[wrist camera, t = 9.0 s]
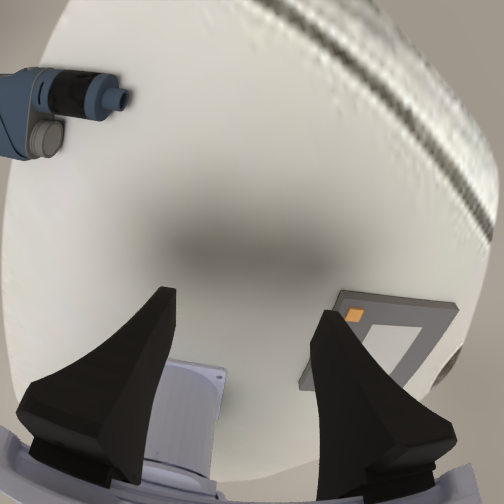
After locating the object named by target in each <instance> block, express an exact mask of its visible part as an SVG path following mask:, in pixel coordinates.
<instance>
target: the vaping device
mask: <svg viewBox="0 0 504 504" xmlns="http://www.w3.org/2000/svg"><path fill="white" fill-rule="evenodd" d="M128 97H129V93H128V91H127V90H124V89H118V81H117V78H116V76H115V75H113V74H105V73H96V72H86V71H74V70H59V69H54V68H39V67H29V68H24V69H22V70H20V71H18V72H16V73H15V74H0V156H3V157H8V158H12V159H17V160H22V161H27V160H31V159H37V158H39V157H45V158H51V157H53V156H54V155H55V154H56V153H57V151H58V149H59V147H60V145H61V142H62V137H63V127H62V125H61V123H60V122H58V121H53V118H54V114H57V115H63V116H70V117H76V118H82V119H88V120H94V121H103V120H105V119H106V118H107V117H108V116H109V114H110V113H111V111H112V110H115V111H123V110H124V108H125V107H126V105H127V102H128Z"/></svg>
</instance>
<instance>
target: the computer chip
mask: <svg viewBox="0 0 504 504" xmlns="http://www.w3.org/2000/svg"><path fill="white" fill-rule="evenodd" d="M333 311H338V312H339V313H340V314H341V315H342V317H343V318H344V320H345V321H346V322H347V324H348V325H349V327H350V328H351V329H352V331H353V332H354V333H355V335H356V336H357V338H358V339H359V340H360V342H361V343H362V344H363V346H364V347H365V348H366V349H367V351H368V352H369V353H370V354H371V356H372V357H373V358H374V359H375V360H376V362H377V363H378V364H379V365H380V366H381V367H382V369H383V370H384V371H385V372H386V373H387V374H388V375H389V376H390V377H391V378H392V379H393V380H394V381H395V382H396V383H397V384H398V385H399V386H400V387H401V388H403V387H404V385H405V384H406V383H407V382H408V381H409V379H410V378H411V377H412V376H413V375H414V373H415V372H416V371H417V370H418V368H419V367H420V366H421V364H422V363H423V362H424V360H425V359H426V358H427V357H428V355H429V354H430V353H431V351H432V350H433V348H434V347H435V346H436V344H437V343H438V341H439V340H440V339H441V337H442V336H443V334H444V333H445V331H446V330H447V328H448V327H449V325H450V324H451V322H452V321H453V319H454V318H455V316H456V315H457V313H458V311H459V309H458V307H457V306H456V304H455V303H447V302H438V301H428V300H419V299H410V298H401V297H392V296H384V295H375V294H367V293H359V292H351V291H343V290H341V292H340V294H339V297H338V299H337V301H336V304H335V306H334V308H333ZM299 390H302V391H315V387H314V381H313V375H312V369H311V358H310V360H309V363H308V365H307V367H306V369H305V371H304V373H303V375H302V377H301V379H300V381H299Z"/></svg>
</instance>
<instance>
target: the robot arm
mask: <svg viewBox="0 0 504 504" xmlns="http://www.w3.org/2000/svg"><path fill="white" fill-rule="evenodd" d="M175 327H176V289H174V288H168V287H162V286H161V287H160V288H158V290H157V291H156V292H155V293H154V294H153V295H152V297H151V298H150V299H149V300H148V301H147V302H146V303H145V304H144V305H143V307H142V308H141V309H140V310H139V311H138V312H137V313H136V314H135V315H134V316H133V317H132V318H131V319H130V320H129V321H128V322H127V323H126V324H125V325H123V326H122V327H121V328H120V329H119V330H118V331H117V332H116V333H115V334H113V335H112V336H111V337H110V338H109V339H107V340H106V341H105V342H104V343H102V344H101V345H100V346H98V347H97V348H96V349H94V350H93V351H91V352H90V353H88V354H87V355H85V356H84V357H82V358H81V359H79V360H77V361H76V362H74V363H72V364H70V365H69V366H67V367H65V368H63V369H61V370H59V371H57V372H55V373H53V374H51V375H49V376H46V377H44V378H42V379H39V380H37V381H34V382H31V384H30V385H29V387H28V388H27V390H26V392H25V394H24V396H23V398H22V400H21V402H20V404H19V407H18V408H17V411H16V414H17V417H18V419H19V421H20V422H21V423H22V424H23V425H24V426H25V427H26V429H27V430H28V431H29V432H30V433H31V434H32V435H33V436H34V439H33V442H32V444H31V446H29V445H27V444H25V443H23V442H21V441H20V439H19V438H18V437H17V436H16V435H15V434H14V433H12V432H11V431H9V430H8V429H6V428H5V427H3V426H1V425H0V492H2V493H3V494H5V495H6V496H8V497H10V498H11V499H13V500H14V501H16V502H18V503H19V504H482V501H481V497H480V493H479V489H478V486H477V482H476V478H475V475H474V472H473V468H472V464H471V463H468V464H465V465H463V466H460V467H457V468H454V469H452V470H450V471H448V472H446V473H445V474H443V475H441V476H440V477H439V478H436V479H434V476H433V472H432V471H433V470H435V469H436V465H435V461H436V460H437V459H439V458H440V457H441V456H443V455H444V454H446V453H447V452H448V451H450V450H451V449H452V448H453V447H454V446H455V445H456V443H457V438H456V435H455V432H454V429H453V426H452V423H451V422H449V421H447V420H446V419H444V418H442V417H440V416H439V415H437V414H436V413H434V412H432V411H431V410H429V409H428V408H427V407H425V406H423V405H422V404H421V403H420V402H418V401H417V400H416V399H414V398H413V397H412V396H411V395H410V394H408V393H407V392H406V391H405V390H404V389H403V388H401V387H400V386H399V385H398V384H397V383H396V382H395V381H394V380H393V379H392V378H391V377H390V376H389V375H388V374H387V373H386V372H385V371H384V370H383V369H382V367H381V366H380V365H379V364H378V363H377V362H376V360H375V359H374V358H373V357H372V356H371V354H370V353H369V352H368V351H367V349H366V348H365V347H364V346H363V344H362V343H361V342H360V340H359V339H358V338H357V336H356V335H355V333H354V332H353V331H352V329H351V328H350V327H349V325H348V324H347V322H346V321H345V320H344V318H343V317H342V315H341V314H340V313H339V312H338V311H332V310H324V312H323V314H322V317H321V319H320V322H319V324H318V326H317V329H316V331H315V333H314V335H313V338H312V340H311V342H310V358H311V369H312V375H313V381H314V387H315V393H316V399H317V405H318V412H319V427H320V460H319V462H320V463H319V478H318V489H317V498H316V501H311V502H294V503H293V502H289V503H258V502H238V501H227V499H226V497H225V496H224V494H223V493H222V492H220V491H217V490H216V484H217V481H214V480H210V468H211V457H212V447H213V437H214V427H215V421H217V420H218V416H219V410H220V405H221V400H222V395H223V390H224V384H225V379H226V374H227V370H226V369H225V368H222V367H216V366H209V365H203V364H197V363H191V362H185V361H179V360H174V359H168V355H169V352H170V349H171V345H172V341H173V336H174V332H175ZM218 375H220V376H218Z"/></svg>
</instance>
